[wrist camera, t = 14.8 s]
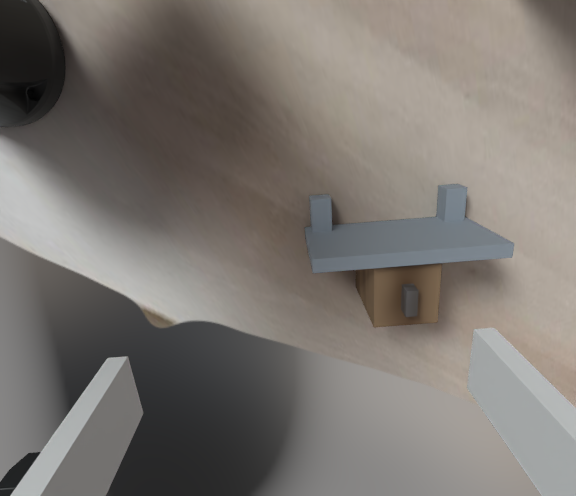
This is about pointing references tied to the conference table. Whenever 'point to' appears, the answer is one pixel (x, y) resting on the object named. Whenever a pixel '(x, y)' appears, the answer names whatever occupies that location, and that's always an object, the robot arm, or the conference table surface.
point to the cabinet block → (400, 294)
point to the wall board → (401, 237)
